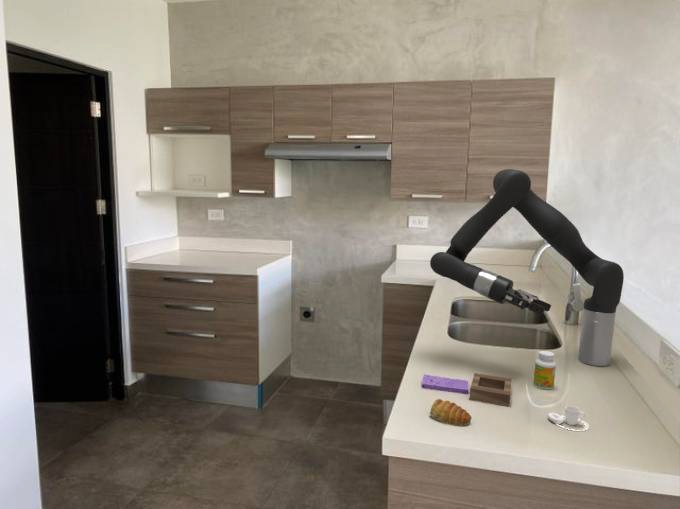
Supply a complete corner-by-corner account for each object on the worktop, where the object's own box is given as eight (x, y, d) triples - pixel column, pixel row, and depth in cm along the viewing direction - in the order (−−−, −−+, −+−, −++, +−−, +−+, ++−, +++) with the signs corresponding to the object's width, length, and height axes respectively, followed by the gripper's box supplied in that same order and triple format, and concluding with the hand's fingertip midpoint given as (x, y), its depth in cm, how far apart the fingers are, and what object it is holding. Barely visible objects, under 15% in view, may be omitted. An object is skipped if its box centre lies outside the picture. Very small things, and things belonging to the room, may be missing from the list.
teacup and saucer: (543, 422, 123) (545, 406, 123) (557, 413, 129) (559, 397, 128) (581, 436, 117) (583, 419, 116) (594, 425, 123) (596, 409, 122)
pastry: (475, 420, 123) (476, 405, 122) (463, 431, 117) (465, 415, 117) (439, 408, 128) (440, 394, 128) (426, 418, 123) (427, 403, 122)
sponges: (423, 380, 147) (423, 374, 147) (468, 386, 144) (468, 379, 144) (421, 389, 140) (421, 383, 140) (468, 396, 137) (468, 389, 137)
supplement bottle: (530, 386, 144) (533, 353, 143) (536, 380, 148) (539, 348, 147) (550, 391, 141) (553, 357, 139) (555, 385, 145) (559, 352, 144)
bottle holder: (473, 382, 145) (474, 372, 145) (510, 388, 142) (511, 378, 141) (469, 399, 134) (470, 388, 134) (509, 406, 131) (510, 395, 130)
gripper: (490, 275, 145) (547, 300, 137) (504, 273, 157) (557, 295, 149) (480, 299, 147) (535, 325, 139) (495, 295, 159) (546, 319, 150)
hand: (546, 310), depth 144 cm, fingers open, 8 cm apart
